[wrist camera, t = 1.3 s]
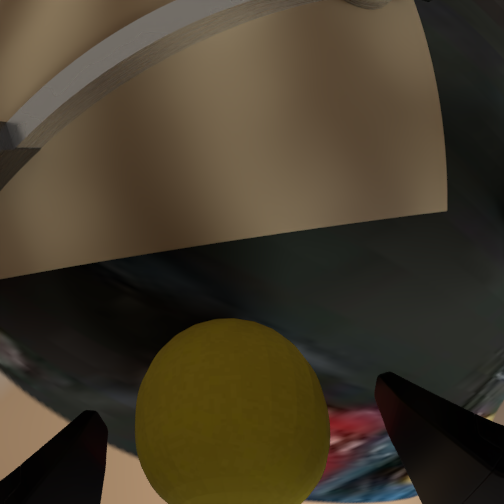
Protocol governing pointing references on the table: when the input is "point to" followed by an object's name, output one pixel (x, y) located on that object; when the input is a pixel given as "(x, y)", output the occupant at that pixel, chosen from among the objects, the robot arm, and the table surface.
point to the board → (221, 132)
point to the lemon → (231, 418)
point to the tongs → (125, 67)
